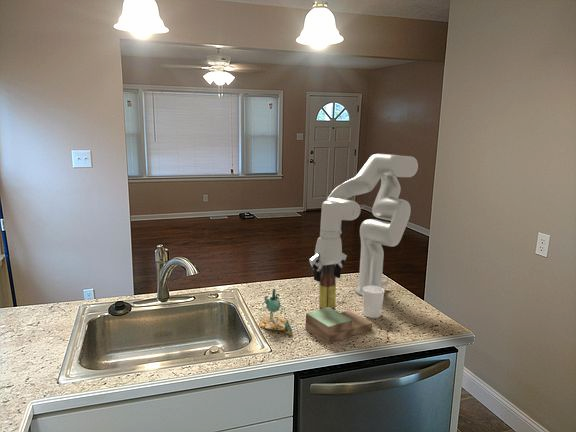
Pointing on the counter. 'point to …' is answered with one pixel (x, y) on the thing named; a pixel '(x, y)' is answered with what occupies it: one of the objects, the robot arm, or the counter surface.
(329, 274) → the sauce bottle
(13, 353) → the counter surface
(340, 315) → the stand
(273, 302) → the teal toy figure
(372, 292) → the white cup
